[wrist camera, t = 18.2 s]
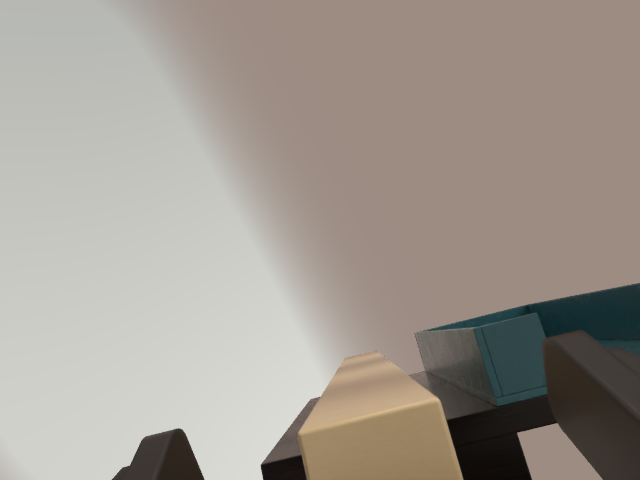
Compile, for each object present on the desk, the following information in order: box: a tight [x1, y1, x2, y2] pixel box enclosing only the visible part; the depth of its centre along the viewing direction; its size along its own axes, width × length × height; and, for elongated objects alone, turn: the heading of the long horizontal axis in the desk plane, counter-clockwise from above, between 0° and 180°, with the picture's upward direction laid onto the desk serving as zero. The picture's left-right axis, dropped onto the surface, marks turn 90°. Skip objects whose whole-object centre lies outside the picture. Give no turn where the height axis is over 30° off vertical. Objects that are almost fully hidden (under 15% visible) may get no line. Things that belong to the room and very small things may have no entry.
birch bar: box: [298, 351, 463, 480], centre depth 20 cm, size 26×2×2 cm, turn 174°
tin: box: [415, 283, 640, 407], centre depth 25 cm, size 18×9×3 cm, turn 174°
